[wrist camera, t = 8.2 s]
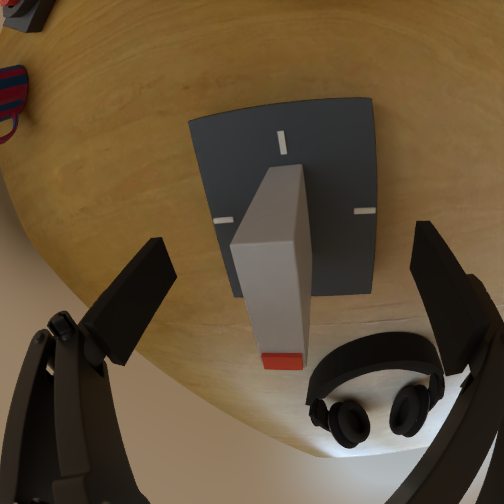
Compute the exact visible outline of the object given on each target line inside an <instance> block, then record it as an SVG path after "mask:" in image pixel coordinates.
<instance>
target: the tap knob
mask: <svg viewBox="0 0 504 504" xmlns="http://www.w3.org/2000/svg"><path fill="white" fill-rule="evenodd" d="M230 249H231V253H232V256H233V260H234V264H235V267H236V271H237V275H238V279H239V282H240V286H241V290H242V293H243V297H244V301H245V304H246V308H247V311H248V315H249V319H250V322H251V326H252V329H253V333H254V336H255V340H256V343H257V347H258V350H259V354H260V357H261V361H262V364H263V366H264V369H271V370H303V368H305V367H306V366H307V356H308V342H309V326H310V308H311V283H312V248H311V237H310V226H309V216H308V207H307V198H306V190H305V182H304V174H303V166H302V164H297V165H287V166H277V167H270V168H269V169H268V171H267V173H266V175H265V177H264V179H263V181H262V183H261V185H260V187H259V188H258V190H257V192H256V194H255V196H254V198H253V200H252V202H251V204H250V206H249V208H248V210H247V212H246V214H245V216H244V218H243V220H242V222H241V224H240V226H239V228H238V230H237V232H236V234H235V236H234V238H233V240H232V242H231V244H230Z"/></svg>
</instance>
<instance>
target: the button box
mask: <svg viewBox="0 0 504 504" xmlns="http://www.w3.org/2000/svg"><path fill="white" fill-rule="evenodd" d="M54 2H55V0H20V1H19V2H18V3H17V4H16V5H14V6H3V16H4V17H6V19H5V21H4V24H3V26H6V27H9V28H12V29H16V30H19V31H22V32H25V33H33V32H41V30H42V27H43V25H44V23H45V20H46V18H47V16H48V14H49V12H50V10H51V8H52V6H53V4H54Z"/></svg>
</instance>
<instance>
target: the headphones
mask: <svg viewBox="0 0 504 504" xmlns="http://www.w3.org/2000/svg"><path fill="white" fill-rule="evenodd" d="M387 369H403V370H410V371H416V372H420V373H423V374H426V375H430V374H431V375H430V380H429V388H428V390H427V388H426V387H425V386H424V385H422V384H418V385H416V386H414V387H406V388H404V389H403V390H402V391H400V392H399V394H398V395H397V397H396V398H395V400H394V403H393V405H392V408H391V412H390V419H389V424H390V428H391V430H392V432H393V433H394V434H397V435H403V436H405V437H412V436H414V435H415V434H416V433H417V432H418V431H419V430H420V429H421V428H422V426H423V424H424V422H425V420H426V418H427V415H428V412H429V411H430V410H431V409H432V408H433V407H434V406H435V405H436V403H437V402H438V400H440V399H442V398H443V396H444V390H445V382H444V377H443V375H444V372H443V368H442V365H441V362H440V359H439V356H438V353H437V351H436V348H435V346H434V345H433V344H432V343H431V342H430V341H428V340H427V339H425V338H424V337H422V336H419V335H416V334H411V333H404V332H388V333H380V334H375V335H370V336H366V337H363V338H360V339H357V340H354V341H352V342H349V343H347V344H345V345H343V346H341V347H339V348H337V349H336V350H334V351H333V352H331V353H330V354H329V355H327V356H326V357H325V358H324V359H323V360H322V361H321V362H320V363H319V364H318V366H317V367H316V368H315V370H314V371H313V373H312V375H311V377H310V380H309V387H308V393H307V398H306V404H305V405H309V406H310V410H309V416H310V417H311V421H312V423H313V424H314V426H320V427H322V428H323V429H325V430H327V431H329V432H331V433H332V435H333V437H334V439H335V440H336V441H337V442H338V443H339V444H340V445H341V446H343V447H345V448H348V449H351V448H354V447H355V446H357V445H358V444H359V443H361V442H363V441H365V440H366V439H367V437H368V436H369V433H370V421H369V418H368V415H367V413H366V411H365V410H364V409H363V407H362V406H361V405H360V404H358V403H357V402H354V401H347V402H345V403H344V402H337V403H335V404H333V405H332V406H331V408H330V410H329V411H328V410H327V407H326V404H325V402H324V401H323V400H322V399H323V398H325V397H326V396H327V395H328V394H329V393H330V392H331V391H333V390H334V389H335V388H336V387H338V386H339V385H341V384H343V383H344V382H346V381H348V380H350V379H353V378H355V377H358V376H361V375H364V374H367V373H370V372H374V371H380V370H387ZM319 399H320V400H319Z"/></svg>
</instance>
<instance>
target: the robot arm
mask: <svg viewBox="0 0 504 504" xmlns="http://www.w3.org/2000/svg"><path fill="white" fill-rule="evenodd" d="M410 271H411V273H412V275H413V278H414V280H415V283H416V285H417V288H418V290H419V293H420V295H421V298H422V301H423V303H424V306H425V309H426V312H427V315H428V317H429V320H430V323H431V326H432V329H433V332H434V336H435V339H436V342H437V346H438V349H439V352H440V356H441V360H442V363H443V367H444V371H445V375H446V376H450V375H455V374H459V373H462V372H463V371H464V369H465V368H466V366H467V365H468V364H469V368H470V371H471V372H470V373H469V375H468V376H467V377H466V379H465V380H464V382H463V383H462V384H461V386H460V387H461V388H462V389H461V391H460V394H459V396H458V398H457V400H456V402H455V404H454V405H453V407H452V409H451V411H450V413H449V415H448V417H447V418H446V420H445V422H444V424H443V425H442V427H441V429H440V430H439V432H438V434H437V435H436V437H435V439H434V440H433V442H432V443H431V445H430V446H429V448H428V449H427V451H426V452H425V454H424V455H423V457H422V458H421V460H420V461H419V462H418V464H417V465H416V466H415V468H414V469H413V470H412V472H411V473H410V474H409V475H408V477H407V478H406V479H405V480H404V482H403V483H402V484H401V485H400V487H399V488H398V489H397V490H396V491H395V492H394V494H393V495H392V496H391V497H390V498H389V499H388V501H386V503H385V504H459V502H460V501H461V499H462V498H463V496H464V495H465V493H466V491H467V490H468V488H469V487H470V485H471V483H472V482H473V480H474V478H475V476H476V475H477V473H478V471H479V469H480V467H481V466H482V464H483V461H484V460H485V458H486V456H487V454H488V451H489V449H490V447H491V445H492V443H493V441H494V438H495V436H496V434H497V431H498V434H497V439H496V443H495V447H494V451H493V454H492V458H491V461H490V465H489V468H488V471H487V474H486V477H485V480H484V483H483V486H482V488H481V491H480V494H479V496H478V498H477V501H476V503H475V504H504V322H503V320H502V318H501V316H500V314H499V312H498V310H497V308H496V306H495V304H494V303H493V301H492V299H490V298H491V297H490V295H489V294H488V292H486V288H485V287H484V285H483V283H482V282H481V281H480V280H479V279H478V278H477V277H476V276H475V275H474V274H467V275H466V274H465V272H464V270H463V269H462V267H461V265H460V264H459V262H458V261H457V259H456V258H455V256H454V254H453V253H452V251H451V250H450V248H449V247H448V245H447V244H446V243H445V241H444V240H443V238H442V237H441V235H440V234H439V233H438V231H437V230H436V228H435V227H434V226H433V224H432V223H431V222H430V221H416V228H415V236H414V244H413V250H412V257H411V263H410ZM176 278H177V275H176V273H175V270H174V268H173V265H172V263H171V260H170V257H169V255H168V252H167V250H166V247H165V244H164V242H163V239H162V237H157V238H150V240H149V241H148V242H147V243H146V244H145V245H144V246H143V247H142V248H141V250H140V251H139V252H138V253H137V254H136V255H135V256H134V257H133V259H132V260H131V261H130V262H129V263H128V264H127V266H126V267H125V268H124V269H123V270H122V271H121V273H120V274H119V275H118V276H117V277H116V279H115V280H114V281H113V282H112V283H111V285H110V286H109V287H108V288H107V289H106V290H105V291H104V292H103V293H102V294H101V295H100V296H99V298H98V299H97V301H95V303H94V304H93V306H91V308H90V309H89V310H88V312H87V313H86V314H85V316H84V317H83V318H82V320H81V321H80V322H79V324H78V325H77V324H76V323H75V322H74V320H73V319H72V317H71V316H70V314H69V313H68V312H67V311H61V312H58V313H57V314H55V315H54V316H53V317H52V318H51V319H50V321H49V322H48V324H47V327H48V328H49V329H50V331H51V332H52V333H53V334H54V336H52V335H51V333H50V332H49V331H48V330H47V329H42V330H39V331H38V332H37V333H36V334H35V335H34V337H33V338H32V340H31V343H30V345H29V348H28V351H27V354H26V356H25V359H24V362H23V365H22V368H21V371H20V374H19V377H18V381H17V383H16V387H15V390H14V394H13V398H12V402H11V406H10V410H9V415H8V419H7V423H6V429H5V434H4V441H3V447H2V455H1V464H0V504H150V502H149V501H148V499H147V498H146V497H145V496H144V495H143V494H142V493H141V492H140V491H139V489H138V487H137V485H136V482H135V479H134V476H133V474H132V470H131V467H130V464H129V461H128V458H127V455H126V452H125V448H124V444H123V441H122V437H121V433H120V430H119V425H118V422H117V417H116V413H115V408H114V403H113V398H112V393H111V388H110V382H109V375H108V369H107V364H106V362H105V361H104V358H105V357H106V355H107V357H108V358H109V359H110V360H111V362H112V363H114V364H118V365H122V366H125V364H126V363H127V361H128V359H129V357H130V355H131V354H132V352H133V350H134V348H135V347H136V345H137V343H138V341H139V340H140V338H141V336H142V334H143V333H144V331H145V329H146V328H147V326H148V324H149V323H150V321H151V319H152V317H153V316H154V314H155V312H156V311H157V309H158V307H159V306H160V304H161V303H162V301H163V299H164V298H165V296H166V294H167V293H168V291H169V289H170V288H171V286H172V285H173V283H174V281H175V280H176ZM47 365H48V366H49V367H50V368H51V369H52V370H53V371H54V373H53V375H51V374H50V373H49V372H48V371H47V370H46V367H47Z"/></svg>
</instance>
